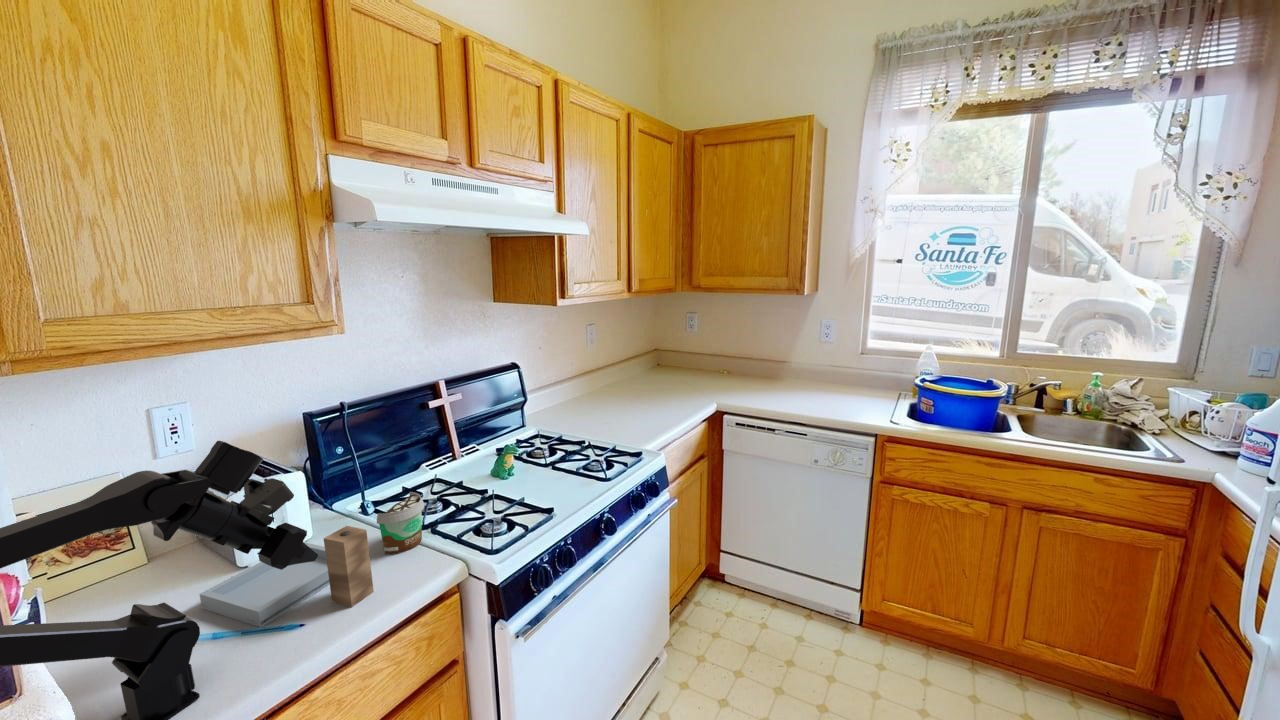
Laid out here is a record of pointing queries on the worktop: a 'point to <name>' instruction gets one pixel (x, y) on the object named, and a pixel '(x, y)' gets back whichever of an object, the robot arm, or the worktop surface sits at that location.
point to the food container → (402, 525)
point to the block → (348, 565)
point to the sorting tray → (267, 590)
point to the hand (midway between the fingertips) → (300, 551)
